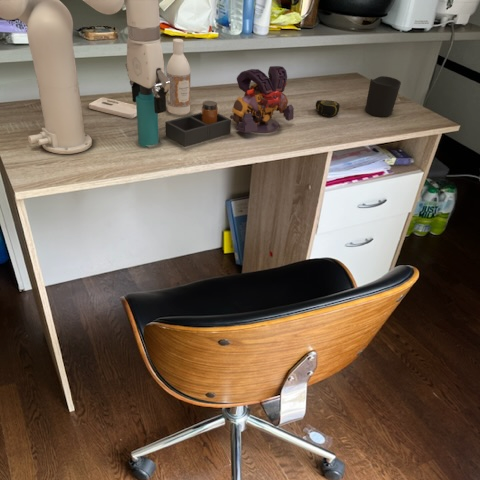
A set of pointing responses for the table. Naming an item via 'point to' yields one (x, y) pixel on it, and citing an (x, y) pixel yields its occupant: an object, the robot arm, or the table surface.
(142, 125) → the water bottle
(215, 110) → the spice jar
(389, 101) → the pen holder
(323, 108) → the tape measure
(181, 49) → the bath foam
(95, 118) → the table surface
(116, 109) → the phone case
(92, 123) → the table surface
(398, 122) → the table surface
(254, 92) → the figurine
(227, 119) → the cup holder
